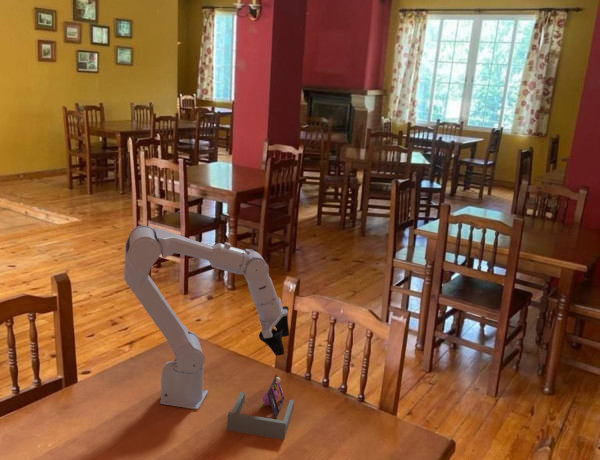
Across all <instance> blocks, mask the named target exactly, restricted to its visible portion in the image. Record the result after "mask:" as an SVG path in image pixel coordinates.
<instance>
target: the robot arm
mask: <svg viewBox="0 0 600 460" xmlns="http://www.w3.org/2000/svg"><path fill="white" fill-rule="evenodd" d="M124 250H125V254H124V256H125V257H124V281H125V283H126V285H127V286H128V287H129V289H130V290H131V292H132V293H133V294H134V296H135V297H136V298H137V300H138V301H139V302H140V304H141V306H143V308H144V310H145V311H146V312H147V313H148V315H149V317H150V318H151V320H152V322H154V324H155V325H156V327H158V329H159V330H160V332H161V333H162V335H163V336H164V337H165V339H166V340H167V342H168V344H169V347H170V349H171V351H172V353H173V354H174V356H175V358H174V361H167V362H166V363H165V364H164V365H163V369H162V373H161V382H160V384H161V385H160V390H161V391H160V393H161V394H160V396H161V397H160V400H159V404H161V405H167V406H173V407H178V408H184V409H192V410H199V409H200V408H201V405H202V404H203V402H204V400H205V399H206V397H207V396H208V395H209V391H208V390H207V389H204V368H205V365H204V364H205V362H206V361H205V360H206V358H205V354H204V353H203V349H202V347H201V341H200V337H199V336H198V335H197V334H196V333H195V332H193V331H190V330H189V328H188V327H187V326H186V325H185V324H183V323H182V321H181V319H180V318H179V317H178V315H177V314H176V312H175V311H174V309H173V308H172V307H171V305H170V304H169V302H168V300H166V298H165V297H164V295H163V294H162V292H161V291H160V289H159V288H158V286H157V285H156V283H155V282H154V280H153V279H152V278H151V276H150V275H149V274H150V272H151V269H152V267H153V265H154V264H155V263H156V262H157V260H158V259H159V258H160V255H161V257H162V259H165V258H168V257H169V256H172V255H173V254H177V255H178V254H180V255H183V256H187V257H192V258H195V259H196V258H197V259H201V260H204V261H205V260H206V261H208V262H209V264H210V267H211V268H214V269H218V270H221V271H225V272H228V273H233V274H235V275H243V276H244V278H245V280H246V282H247V287H248V291H249V292H250V295H251V298H252V301H253V303H254V306H255V308H256V311H257V314H258V317H259V322H260V325H261V331H260V332H259V334H258V338H259V340H260V341H262V342H263V343H265V344H266V345H267V346H268V347H269V349H271V351H272V353H273V354H274V355H275V356H276V357H278V356H282V355H284V354H285V348H284V344H283V338H284V337H289V336H290V328H289V327H290V326H289V318H288V317H289V309H290V308H289V306H288V305H287V306H285V305H284V306H283V302H282V299H281V297H278V294H277V291H276V289H275V287H274V286H275V285H274V283H273V280H272V278H271V277H270V273H269V271H270V267H269V264H267V262H266V261H265V259H264V258H263V256H262V255H261V253H259V252H257V251H256V250H254V249H248V248H245V249H241V248H238V247H236V246H235V247H234V246H232V244H231V243H230V242H227V241H225V242H224V244H223V243H221V242H219V243H216V244H214V245H208V244H207V243H203V242H200V241H197V240H195V239H191V238H188V237H186V236H183V235H179V234H176V233H173V232H170V231H168V230H165V229H162V228H158V227H154V228H153V227H152V226H150V225H144V224H142V225H138V226H136V227H134V228H133V229H132V230H131V231H130V233H129V235H128V237H127V239H126V242H125V249H124Z"/></svg>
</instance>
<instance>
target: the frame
mask: <svg viewBox="0 0 600 460" xmlns="http://www.w3.org/2000/svg"><path fill="white" fill-rule="evenodd" d="M239 393H240V394H239V395H238V398H237V400H236V402H235V403H234V406H233V408H232V410H231V411H229V412H228V413H227V423H226V431H230V432H237V433H241V434H242V433H243V434H249V435H255V436H260V437H266V438H272V439H278V440H285V438H286V436H287V433H288V429H289V424H290V422H291V418H292V415H293V412H294V407H295V400H294V399H289V402H288V405H287V409H286V411H285V414H284V418H283V420H282V419H275V418H271V417H270V418H269V417H263V416H256V415H250V414H243V413H240V412H241V411H242V408H243V406H244V404H245V401H246V392H243V391H240V392H239Z"/></svg>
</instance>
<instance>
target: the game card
mask: <svg viewBox="0 0 600 460" xmlns="http://www.w3.org/2000/svg"><path fill="white" fill-rule="evenodd" d="M280 382H281V378H280V377H279V376H278V374H276V375H275V376H274V379H273V380H272V383H271V385H270V387H269V389H268V390H267V391H266V392H265V393H264V394H263V397H262V404H261V406H260V408H261V409H262V408H264V407H265V406H270V408H271V411H272V415H273V419H276V420H278V416H279V414H280V411H281V408H282V406H283V404H284V401H285V395H284V391H283V389H282V385H281V383H280ZM277 385H278V389H279V390H278V389H277ZM280 395H281V401H280V404H279V405H278V402H277V400H278V399H279V397H280Z"/></svg>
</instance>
